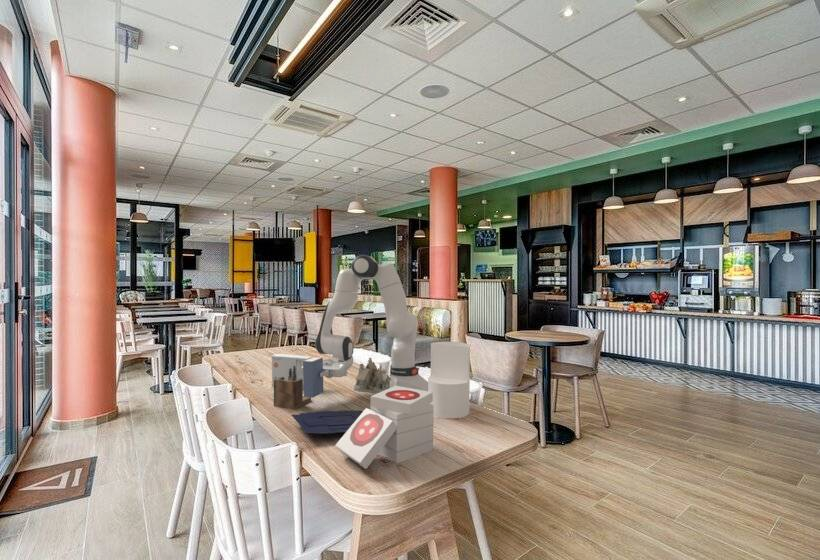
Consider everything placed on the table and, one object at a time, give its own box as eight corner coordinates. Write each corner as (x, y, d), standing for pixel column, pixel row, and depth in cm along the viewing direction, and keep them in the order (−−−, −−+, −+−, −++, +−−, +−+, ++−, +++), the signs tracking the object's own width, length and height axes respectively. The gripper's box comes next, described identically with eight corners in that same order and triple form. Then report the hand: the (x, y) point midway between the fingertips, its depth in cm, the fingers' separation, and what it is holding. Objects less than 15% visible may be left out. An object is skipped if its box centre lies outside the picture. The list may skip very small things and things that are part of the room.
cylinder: (439, 402, 181) (439, 340, 181) (475, 409, 172) (476, 343, 172) (420, 414, 166) (420, 346, 166) (459, 422, 157) (459, 350, 157)
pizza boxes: (332, 455, 128) (332, 398, 128) (407, 432, 146) (407, 383, 146) (364, 479, 113) (364, 415, 113) (443, 451, 131) (443, 395, 131)
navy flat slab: (288, 420, 155) (290, 410, 155) (360, 416, 170) (361, 407, 170) (306, 443, 134) (307, 432, 134) (386, 437, 149) (387, 427, 149)
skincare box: (271, 386, 206) (271, 355, 206) (277, 383, 211) (277, 353, 211) (307, 390, 200) (307, 358, 200) (313, 387, 205) (313, 356, 205)
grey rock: (349, 388, 202) (351, 358, 202) (374, 383, 214) (376, 355, 214) (369, 397, 191) (371, 365, 191) (394, 391, 203) (396, 361, 203)
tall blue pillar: (323, 392, 176) (322, 357, 176) (313, 397, 169) (312, 361, 168) (314, 391, 178) (313, 357, 178) (303, 396, 170) (303, 360, 170)
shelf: (311, 400, 183) (311, 375, 183) (294, 408, 172) (294, 381, 171) (290, 398, 187) (290, 373, 187) (273, 405, 175) (273, 379, 175)
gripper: (311, 359, 190) (293, 365, 177) (349, 361, 183) (333, 368, 170) (311, 372, 190) (293, 380, 177) (350, 375, 183) (334, 383, 170)
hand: (313, 374), depth 173 cm, fingers closed on tall blue pillar, 4 cm apart
